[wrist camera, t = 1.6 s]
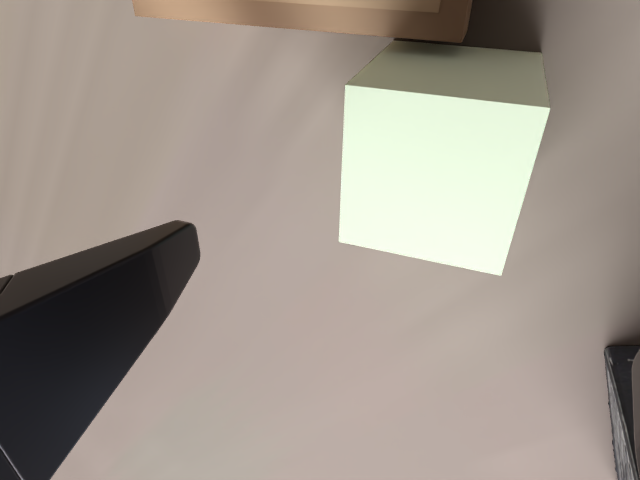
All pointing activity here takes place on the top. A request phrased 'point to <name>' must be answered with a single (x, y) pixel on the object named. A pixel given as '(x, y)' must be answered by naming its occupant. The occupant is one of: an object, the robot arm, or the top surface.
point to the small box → (622, 408)
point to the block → (441, 151)
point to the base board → (326, 15)
